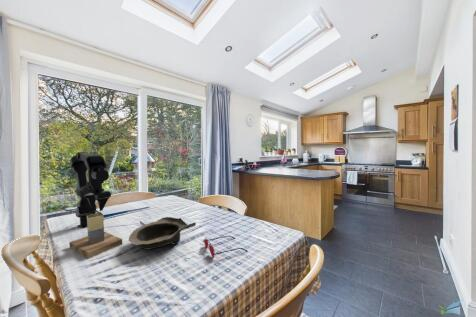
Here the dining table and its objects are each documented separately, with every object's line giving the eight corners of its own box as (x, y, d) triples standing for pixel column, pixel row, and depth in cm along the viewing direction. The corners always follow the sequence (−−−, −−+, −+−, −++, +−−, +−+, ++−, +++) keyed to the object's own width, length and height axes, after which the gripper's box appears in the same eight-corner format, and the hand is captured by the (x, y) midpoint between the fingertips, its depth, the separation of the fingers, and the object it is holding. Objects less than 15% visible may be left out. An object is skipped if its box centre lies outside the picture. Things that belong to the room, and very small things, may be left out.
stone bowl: (195, 235, 105) (194, 218, 104) (163, 266, 82) (161, 244, 80) (156, 228, 113) (154, 212, 112) (116, 254, 90) (113, 234, 88)
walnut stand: (69, 247, 94) (69, 241, 94) (102, 235, 106) (102, 230, 105) (88, 258, 84) (88, 252, 84) (122, 244, 96) (122, 239, 96)
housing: (88, 240, 95) (86, 214, 94) (102, 236, 99) (100, 212, 98) (89, 244, 91) (88, 218, 90) (104, 240, 95) (103, 215, 94)
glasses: (202, 246, 95) (202, 235, 94) (235, 239, 102) (235, 229, 101) (211, 261, 82) (211, 249, 82) (248, 252, 89) (248, 241, 89)
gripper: (68, 180, 104) (70, 210, 105) (85, 183, 95) (87, 217, 96) (93, 177, 114) (94, 205, 115) (111, 180, 104) (112, 210, 105)
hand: (96, 209), depth 107 cm, fingers open, 9 cm apart
